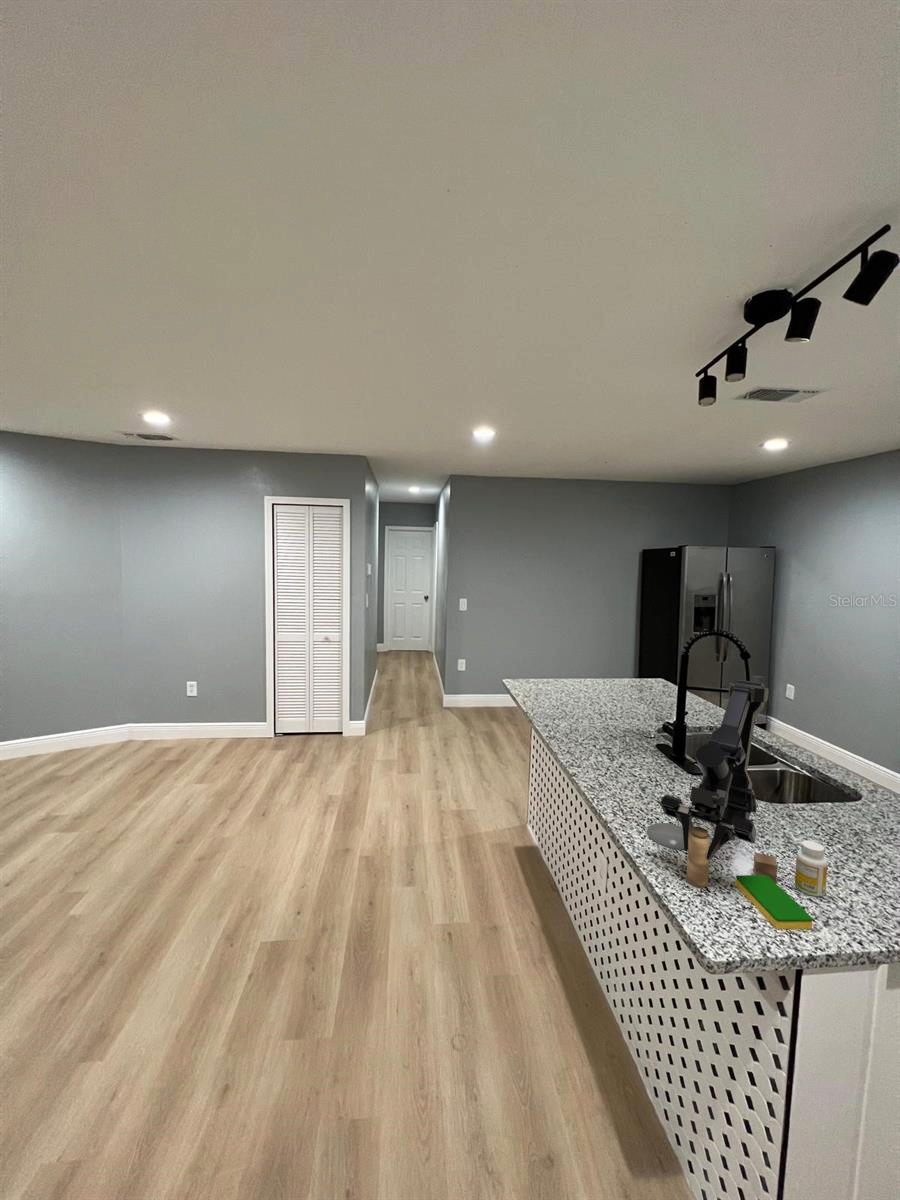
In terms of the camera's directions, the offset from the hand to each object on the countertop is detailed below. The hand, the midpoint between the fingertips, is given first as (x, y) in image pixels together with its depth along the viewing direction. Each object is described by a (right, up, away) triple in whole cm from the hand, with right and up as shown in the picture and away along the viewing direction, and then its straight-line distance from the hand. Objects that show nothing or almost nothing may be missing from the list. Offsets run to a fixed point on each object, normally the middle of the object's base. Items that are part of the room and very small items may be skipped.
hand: (696, 855), depth 111 cm
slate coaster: (+3, -5, +20) cm, 21 cm away
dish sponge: (+12, -8, -6) cm, 16 cm away
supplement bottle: (+24, -7, 0) cm, 25 cm away
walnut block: (+17, -7, +4) cm, 19 cm away
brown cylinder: (+1, -7, +2) cm, 7 cm away
